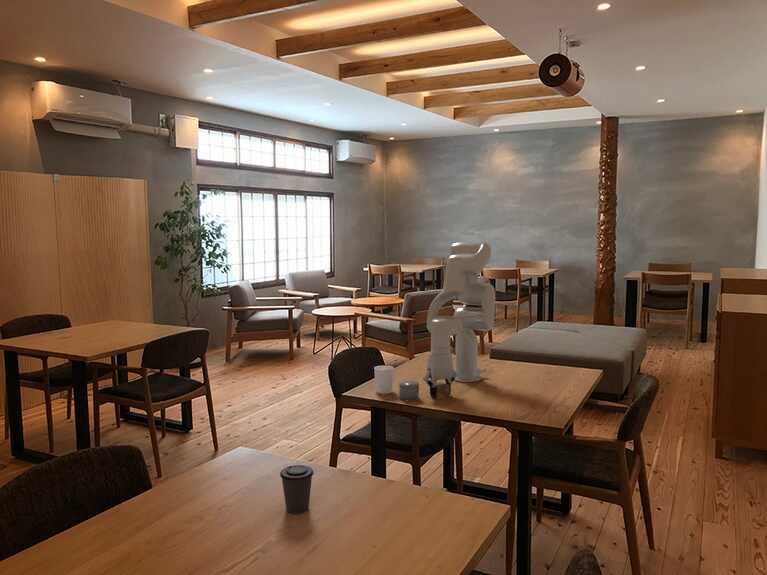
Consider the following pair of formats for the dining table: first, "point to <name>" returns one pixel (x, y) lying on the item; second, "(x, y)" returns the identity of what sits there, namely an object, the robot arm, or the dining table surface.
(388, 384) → the white cup
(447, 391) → the walnut cube
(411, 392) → the stoneware pot
